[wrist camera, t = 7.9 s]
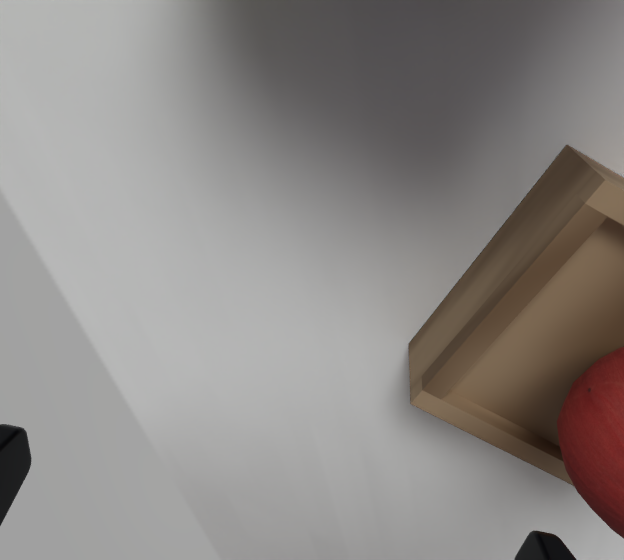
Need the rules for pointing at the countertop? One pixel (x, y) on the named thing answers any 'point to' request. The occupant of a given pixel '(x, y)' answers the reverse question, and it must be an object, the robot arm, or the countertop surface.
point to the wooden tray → (529, 315)
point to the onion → (597, 437)
